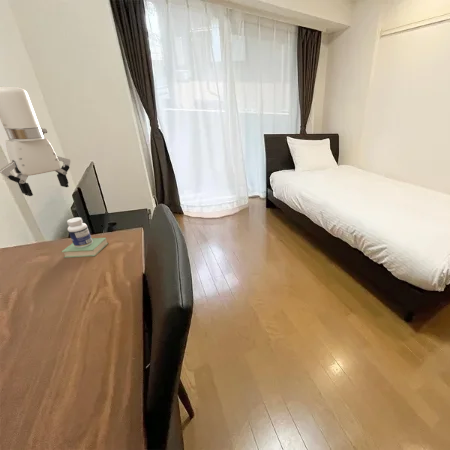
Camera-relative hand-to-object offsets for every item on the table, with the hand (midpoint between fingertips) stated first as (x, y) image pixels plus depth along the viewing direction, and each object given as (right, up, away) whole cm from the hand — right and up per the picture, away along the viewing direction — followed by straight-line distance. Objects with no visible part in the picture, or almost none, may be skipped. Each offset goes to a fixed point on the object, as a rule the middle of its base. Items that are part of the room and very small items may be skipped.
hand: (47, 190), depth 86 cm
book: (+3, -20, +12) cm, 24 cm away
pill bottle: (+3, -18, +11) cm, 21 cm away
